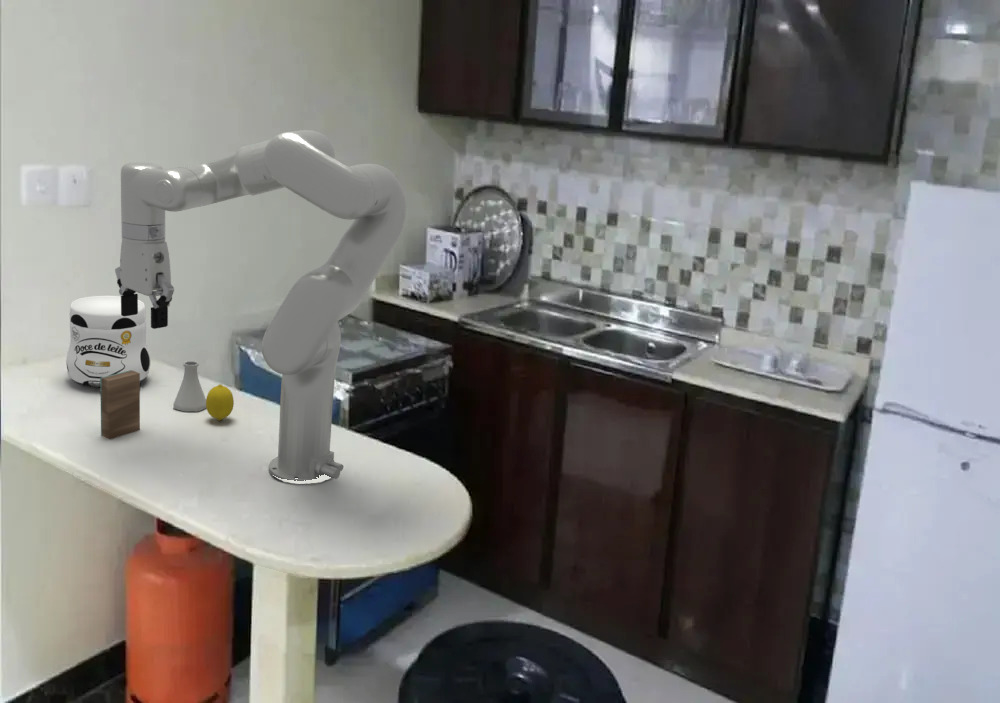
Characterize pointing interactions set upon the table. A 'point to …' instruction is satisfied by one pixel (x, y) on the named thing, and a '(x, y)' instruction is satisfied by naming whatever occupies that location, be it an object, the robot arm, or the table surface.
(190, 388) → the flask
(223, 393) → the lemon
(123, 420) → the walnut slab
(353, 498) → the table surface
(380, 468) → the table surface
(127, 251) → the robot arm
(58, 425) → the table surface
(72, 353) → the milk container
